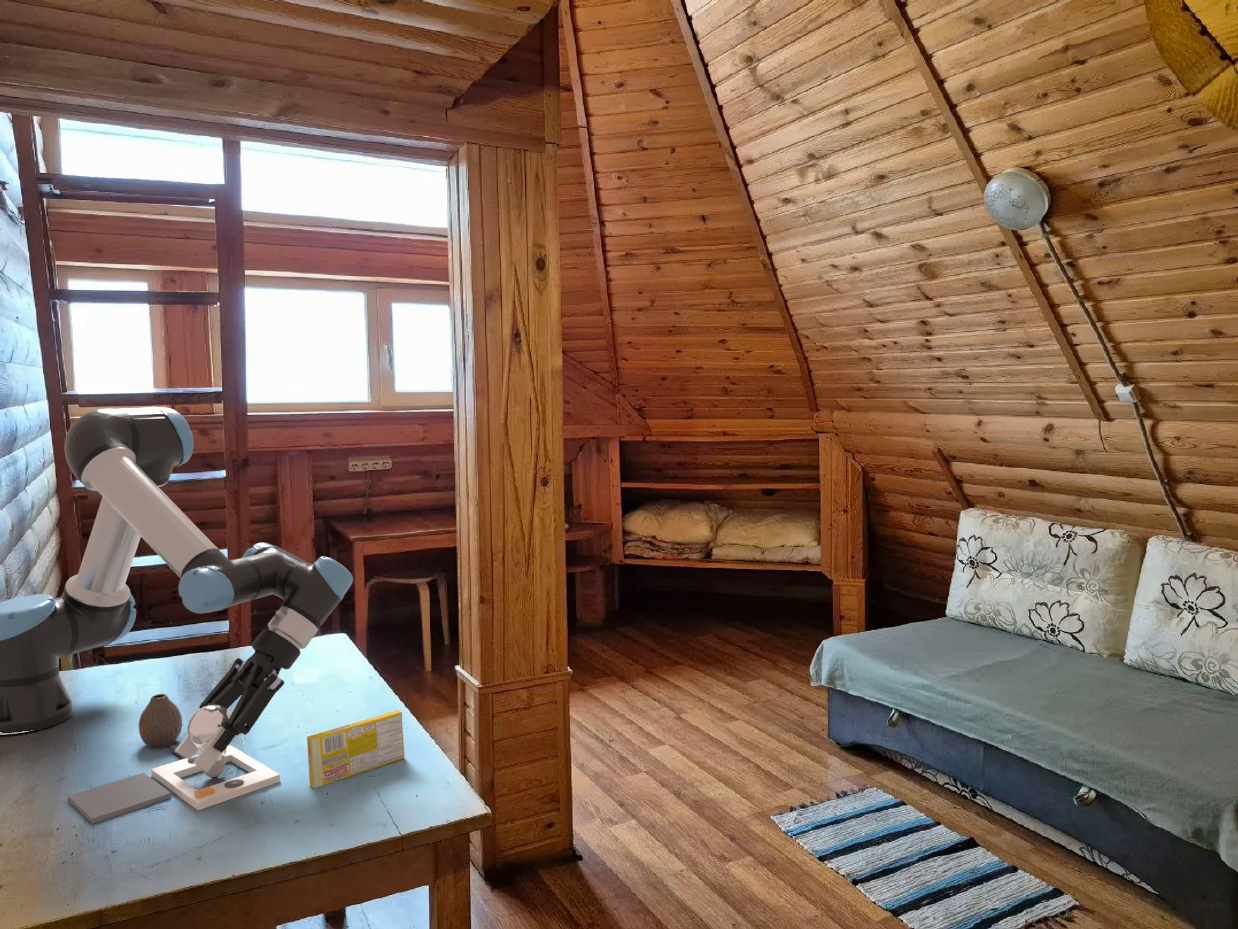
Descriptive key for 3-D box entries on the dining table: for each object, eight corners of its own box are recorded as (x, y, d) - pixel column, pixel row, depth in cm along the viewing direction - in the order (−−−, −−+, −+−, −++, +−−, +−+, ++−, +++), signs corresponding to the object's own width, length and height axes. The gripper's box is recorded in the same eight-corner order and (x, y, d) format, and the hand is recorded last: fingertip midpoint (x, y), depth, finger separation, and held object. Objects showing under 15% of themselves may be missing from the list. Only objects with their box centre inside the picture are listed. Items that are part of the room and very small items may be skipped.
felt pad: (68, 801, 137) (67, 796, 137) (143, 777, 145) (143, 772, 145) (92, 824, 130) (92, 818, 130) (171, 797, 138) (170, 792, 138)
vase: (165, 752, 155) (162, 704, 154) (130, 750, 157) (127, 701, 156) (191, 737, 162) (189, 690, 161) (158, 734, 163) (155, 688, 163)
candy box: (399, 755, 153) (397, 709, 153) (405, 759, 152) (403, 712, 151) (308, 785, 142) (306, 735, 142) (313, 789, 141) (311, 738, 140)
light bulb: (191, 790, 140) (187, 716, 139) (190, 774, 146) (185, 703, 145) (239, 780, 143) (235, 708, 142) (236, 765, 149) (231, 695, 148)
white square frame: (133, 762, 151) (132, 752, 151) (210, 739, 161) (210, 729, 161) (198, 810, 134) (197, 798, 134) (280, 781, 143) (279, 770, 143)
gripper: (242, 617, 156) (148, 734, 146) (296, 638, 143) (198, 768, 133) (272, 640, 161) (183, 755, 150) (328, 662, 148) (235, 790, 137)
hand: (191, 761), depth 142 cm, fingers closed on light bulb, 6 cm apart
